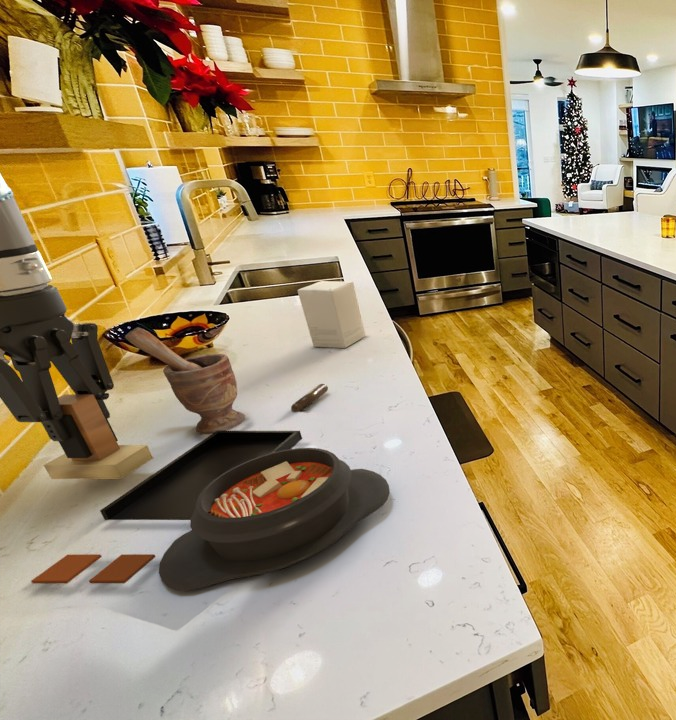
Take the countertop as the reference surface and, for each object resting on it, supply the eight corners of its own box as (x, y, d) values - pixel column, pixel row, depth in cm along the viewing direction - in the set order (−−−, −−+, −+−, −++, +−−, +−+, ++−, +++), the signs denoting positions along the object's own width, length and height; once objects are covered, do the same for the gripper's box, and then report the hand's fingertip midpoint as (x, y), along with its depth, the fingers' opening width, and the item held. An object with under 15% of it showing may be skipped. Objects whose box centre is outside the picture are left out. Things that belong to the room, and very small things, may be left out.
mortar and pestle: (166, 454, 82) (116, 341, 74) (169, 432, 89) (123, 326, 81) (252, 430, 89) (214, 325, 81) (249, 412, 95) (213, 312, 87)
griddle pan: (108, 526, 67) (99, 510, 66) (292, 393, 103) (289, 381, 102) (212, 526, 67) (205, 510, 66) (360, 393, 103) (357, 381, 102)
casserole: (170, 637, 52) (137, 577, 49) (160, 542, 64) (134, 489, 61) (412, 521, 68) (401, 470, 64) (367, 463, 80) (355, 418, 77)
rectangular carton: (367, 336, 133) (354, 281, 127) (345, 348, 125) (331, 290, 119) (335, 334, 134) (321, 280, 128) (312, 347, 126) (295, 289, 120)
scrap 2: (94, 590, 57) (88, 580, 57) (126, 563, 61) (121, 554, 60) (129, 590, 57) (123, 580, 57) (159, 563, 61) (154, 554, 60)
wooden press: (51, 479, 70) (10, 408, 66) (87, 458, 75) (50, 391, 70) (122, 478, 70) (85, 407, 66) (153, 458, 75) (121, 390, 70)
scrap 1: (37, 590, 57) (30, 580, 57) (73, 563, 61) (67, 554, 60) (72, 590, 57) (66, 580, 57) (105, 563, 61) (100, 554, 60)
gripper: (-40, 309, 55) (60, 484, 64) (104, 273, 69) (168, 420, 79) (-109, 309, 55) (1, 484, 64) (50, 274, 69) (120, 420, 79)
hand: (93, 448), depth 71 cm, fingers closed on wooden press, 3 cm apart
